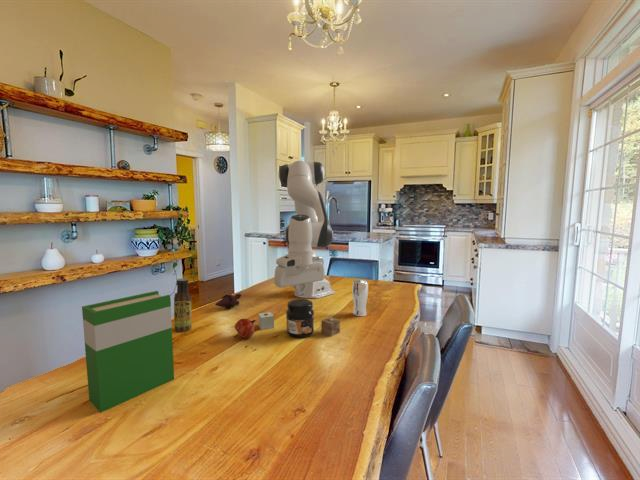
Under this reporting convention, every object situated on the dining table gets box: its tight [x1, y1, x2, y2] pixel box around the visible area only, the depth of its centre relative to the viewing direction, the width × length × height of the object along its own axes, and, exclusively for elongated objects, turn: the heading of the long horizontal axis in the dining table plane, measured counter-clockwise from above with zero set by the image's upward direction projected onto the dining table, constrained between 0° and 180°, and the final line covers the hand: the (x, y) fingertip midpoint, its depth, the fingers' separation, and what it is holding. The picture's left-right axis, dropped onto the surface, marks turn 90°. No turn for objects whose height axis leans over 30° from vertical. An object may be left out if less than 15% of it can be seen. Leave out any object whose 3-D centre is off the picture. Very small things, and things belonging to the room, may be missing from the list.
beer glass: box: [351, 279, 369, 318], centre depth 139 cm, size 7×7×15 cm
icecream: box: [214, 293, 242, 310], centre depth 146 cm, size 7×7×15 cm
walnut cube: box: [321, 316, 341, 337], centre depth 119 cm, size 5×5×5 cm
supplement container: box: [285, 298, 315, 339], centre depth 118 cm, size 10×10×12 cm
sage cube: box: [257, 311, 275, 331], centre depth 125 cm, size 5×5×5 cm
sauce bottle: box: [173, 278, 192, 333], centre depth 120 cm, size 6×6×20 cm
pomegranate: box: [233, 318, 257, 340], centre depth 114 cm, size 7×7×10 cm
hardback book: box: [81, 290, 175, 413], centre depth 81 cm, size 18×7×24 cm, turn 143°
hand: (300, 295), depth 117 cm, fingers closed
